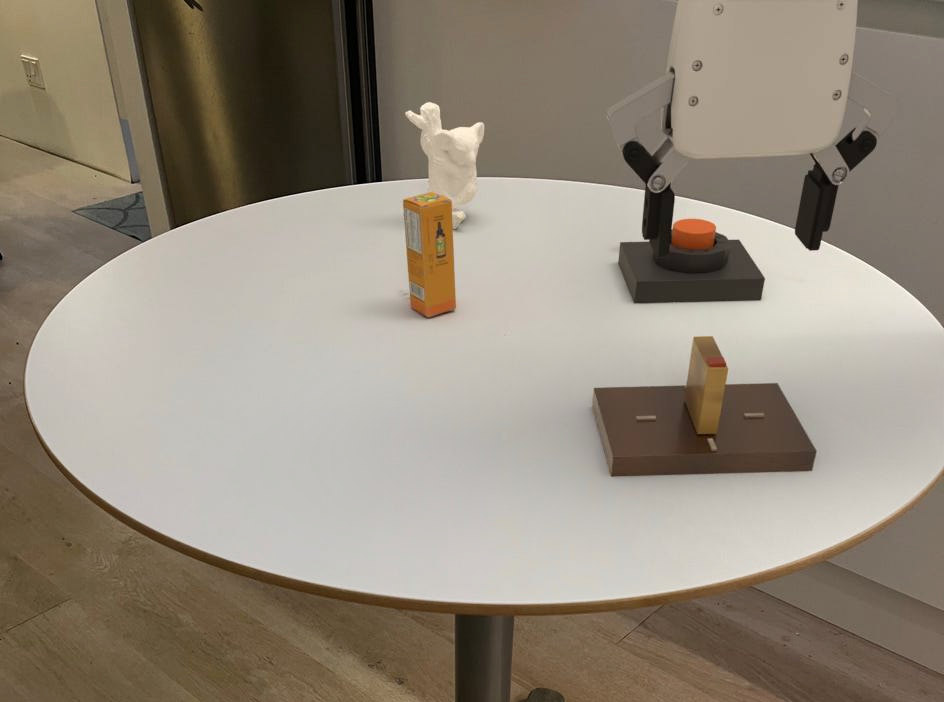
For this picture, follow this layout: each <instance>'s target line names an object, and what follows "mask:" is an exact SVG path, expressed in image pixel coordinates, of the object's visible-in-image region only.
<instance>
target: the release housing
mask: <svg viewBox="0 0 944 702" xmlns="http://www.w3.org/2000/svg"><path fill="white" fill-rule="evenodd" d="M672 230H673V228H672ZM672 230H671V238H672ZM618 249H619V251H618V263H617V264H618V267H619V269H620V271H621V274H622V276H623V279H624V282H625V284H626V286H627V289H628V291H629V294H630V297H631V299H632V302H633V304H636V305H637V304H671V303H672V304H673V303H674V302H675V303H678V302H679V303H710V302H711V303H715V302H716V303H717V302H757V301H762V297H763V292H764V286H765V282H766V278H765V276H764V274H763V273H762V271H761V270H760V268H759V267H758V265H757V264H756V263H755V261H754V259H753V258H752V256H751V255H750V253H749V252H748V250H747V249H746V247H745V246H744V244H743V243H742V242H741V240H740V239H729V238H728V237H727V236H726V235H724V234H722V233H719V232H717V231H716V232H715V239H714V245H713V247H711V248H708V249H699V250H690V249H684V248H678V247H676V246H674V245H672V244H671V239H670V249H669V255H666V257H661V258H657V257H656V255H655V253H654V251H653V249H652V247H651V245H650V243H649V241H620V242H619V248H618ZM675 303H674V304H675ZM679 303H678V304H679Z"/></svg>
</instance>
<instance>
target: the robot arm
mask: <svg viewBox="0 0 944 702" xmlns="http://www.w3.org/2000/svg"><path fill="white" fill-rule="evenodd" d="M858 3H859V2H858V0H678V1H677V5H676V11H675V16H674V20H673V26H672V31H671V37H670V43H669V50H668V55H667V62H666V68H665V74H663V75H662V76H660V77H658V78H656V79H655V80H653V81H651V82H649V83H648V84H647V85H645V86H643V87H641V88H639V89H638V90H636V91H634V92H633V93H630V95H627V96H626V97H624V98H623V99H621V100H619V101H618V102H616V103H614V104H612V105H611V106H610V107H608V108H607V110H606V112H605V118H606V121H607V124H608V126H609V128H610V130H611V134H612V135H613V138H614V140H615V142H616V145H617V147H618V149H619V151H620V154H621V156H622V157H623V160H624V161H625V163H626V164H627V165H628V167H630V168H631V170H632V171H633V172H634V173H635V174H636V175H637V176H638V177H639V179H640V180H641V181H642V182H643V183H644V184H645V187H644V199H643V208H642V211H643V212H642V222H641V235H642V238H643V240H644V241H648V242H649V243H650V245H651V247H652V249H653V251H654V253H655V255H656V257H657V258H661V257H666V255H669V249H670V239H671V230H672V229H673V219H674V210H675V201H676V195H675V192H674V191H673V189H672V186H671V185H672V184H671V183H672V182H673V180H674V179H675V178H676V177H677V176H678V175H679V173H681V172H682V170H683V169H684V168H685V167H686V166H687V164H689V162H690V161H691V160H692V159H699V160H701V159H704V160H706V159H709V160H710V159H734V158H735V159H736V158H756V157H757V158H758V157H759V158H760V157H779V156H780V157H781V156H797V155H809V157H810V159H811V160H812V162H813V163H814V165H813V168H812V169H809V170H808V171H807V174H805V175H804V178H803V184H802V189H801V194H800V199H799V205H798V212H797V216H796V221H795V227H794V235H795V237H797V239H798V240H799V241H800V243H801V244H802V245H803V246H804V248H805V249H807V250H808V251H810V252H811V251H819V250H820V249H821V244H822V240H823V239H822V238H823V234H824V233H826V232H828V231H829V230H830V229H831V228H830V227H831V224H832V220H833V219H832V218H833V215H834V210H835V204H836V199H837V195H838V191H839V186H840V185H843V184H844V183H845V182H846V181H847V180H848V179H849V177H850V172H852V171H853V169H854V168H856V167H857V166H858V165H859V164H860V163H861V162H863V161H864V160H865V159H866V158H867V157H868V156H869V155H870V154H871V153H872V152H874V150H875V149H876V147H877V144H878V142H877V141H878V140H879V138H880V137H882V136H883V134H885V132H886V130H887V129H888V127H889V126H890V124H891V123H892V121H893V120H894V119H895V117H896V116H897V114H898V113H899V111H900V109H901V102H900V101H899V100H898V98H896V97H895V96H893V95H892V94H891V93H889V92H888V91H886V90H884V89H882V88H881V87H879V86H878V85H876V84H875V83H872V82H871V81H870V80H868V79H866V78H864V77H863V76H861V75H859V74H858V73H856V72H854V70H852V68H853V62H854V61H853V60H854V52H855V44H856V33H857V21H858ZM848 100H850V101H852V102H853V103H855V104H857V105H859V106H860V107H862V109H863V115H862V116H861V118H860V120H859V123H858V124H857V126H855V127H854V128H853V129H851V130H850V131H849V132H848V133H847V134H846V135H845V136H844V137H843V138H841V140H839V141H838V142H837V143H836V144H835V142H836V140H837V139H838V137H839V134H840V132H841V128H842V125H843V121H844V117H845V112H846V109H847V108H846V107H847V102H848ZM659 110H660V128H661V131H662V133H663V134H664V135H665V136H664V137H663V139H661V141H660V142H659V143H658V144H657V146H655V148H654V149H653V150H652V151H651V152H649V151H648V150H647V149H646V147H645V146H644V145H643V144H642V143H641V142H640V141H641V140H640V139H639V136H638V133H637V125H638V124H639V122H641V121H642V120H644V119H645V118H647V117H649V116H651V115H652V114H654V113H656V112H658V111H659Z"/></svg>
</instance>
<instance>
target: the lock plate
mask: <svg viewBox="0 0 944 702" xmlns="http://www.w3.org/2000/svg"><path fill="white" fill-rule="evenodd" d="M685 391H686V385H683V384H681V385H651V386H650V385H647V386H646V385H645V386H643V385H642V386H608V387H607V386H606V387H605V386H604V387H593V391H592V392H593V393H592V404H591V408H592V412H593V415H594V418H595V422H596V426H597V430H598V433H599V437H600V441H601V445H602V448H603V451H604V455H605V459H606V463H607V466H608V470H609V474H610V477H612V478H613V477H642V476H643V477H644V476H645V477H646V476H678V475H679V476H680V475H682V476H683V475H713V474H714V475H715V474H716V475H719V474H752V473H755V474H756V473H788V472H789V473H793V472H812V471H813V467H814V464H815V460H816V456H817V451H818V450H817V449H816V448H815V446H814V444H813V442H812V440H811V439H810V436H809V435H808V433H807V432H806V430H805V428H804V426H803V425H802V423H801V421H800V420H799V417H798V416H797V414H796V413H795V411H794V408H793V407H792V405H791V404H790V402H789V400H788V399H787V397H786V395H785V393H784V392H783V390H782V388H781V387H780V385H779V383H778V382H765V383H764V382H763V383H726V385H725V390H724V396H723V402H722V407H721V413H720V419H719V424H718V430H717V434H697V432H696V429H695V427H694V424H693V421H692V419H691V416H690V414H689V411H688V409H687V406H686V404H685V401H684V398H685Z"/></svg>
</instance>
